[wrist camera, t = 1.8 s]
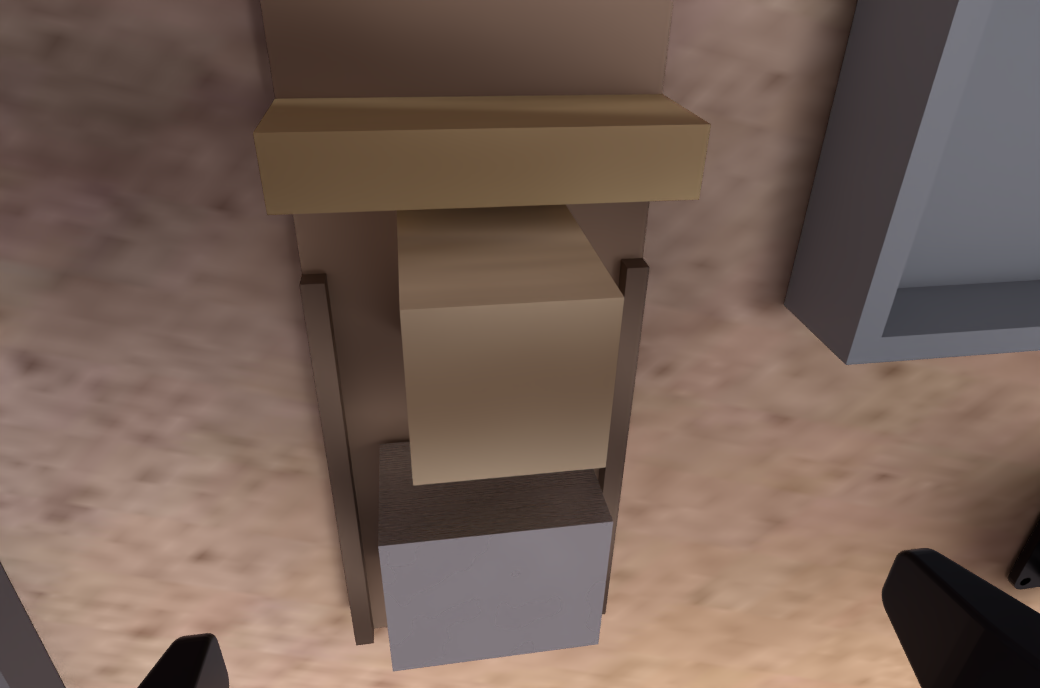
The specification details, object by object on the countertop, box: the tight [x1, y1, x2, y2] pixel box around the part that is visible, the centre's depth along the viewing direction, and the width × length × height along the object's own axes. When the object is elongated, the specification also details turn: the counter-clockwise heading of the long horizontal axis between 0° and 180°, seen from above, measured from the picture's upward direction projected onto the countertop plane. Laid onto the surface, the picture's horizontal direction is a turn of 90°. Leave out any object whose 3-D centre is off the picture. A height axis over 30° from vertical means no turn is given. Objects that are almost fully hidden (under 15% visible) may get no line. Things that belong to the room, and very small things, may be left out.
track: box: [253, 0, 711, 645], centre depth 19 cm, size 21×9×4 cm, turn 179°
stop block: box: [397, 204, 624, 485], centre depth 16 cm, size 4×4×6 cm
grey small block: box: [378, 442, 613, 671], centre depth 21 cm, size 5×6×4 cm
